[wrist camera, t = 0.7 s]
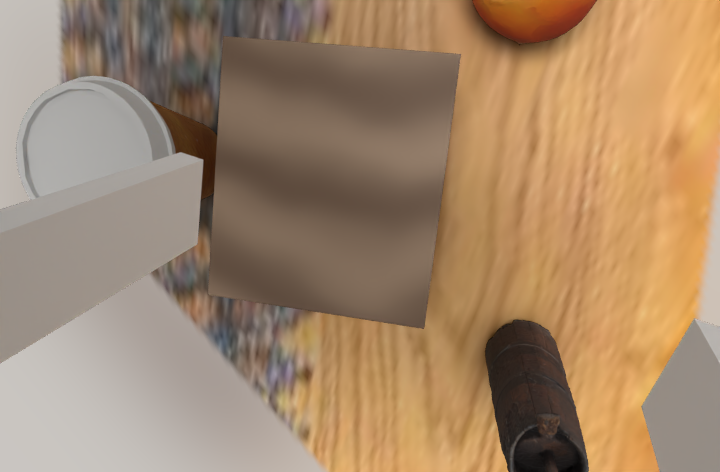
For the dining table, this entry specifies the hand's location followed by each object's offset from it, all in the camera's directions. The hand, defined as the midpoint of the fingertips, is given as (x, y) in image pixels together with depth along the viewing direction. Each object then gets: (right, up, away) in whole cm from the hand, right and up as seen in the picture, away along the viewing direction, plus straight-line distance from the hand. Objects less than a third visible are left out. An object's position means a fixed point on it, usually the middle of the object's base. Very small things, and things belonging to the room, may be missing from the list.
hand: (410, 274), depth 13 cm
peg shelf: (-2, +5, +24) cm, 25 cm away
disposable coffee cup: (-15, +7, +26) cm, 31 cm away
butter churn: (+10, -7, +24) cm, 27 cm away
